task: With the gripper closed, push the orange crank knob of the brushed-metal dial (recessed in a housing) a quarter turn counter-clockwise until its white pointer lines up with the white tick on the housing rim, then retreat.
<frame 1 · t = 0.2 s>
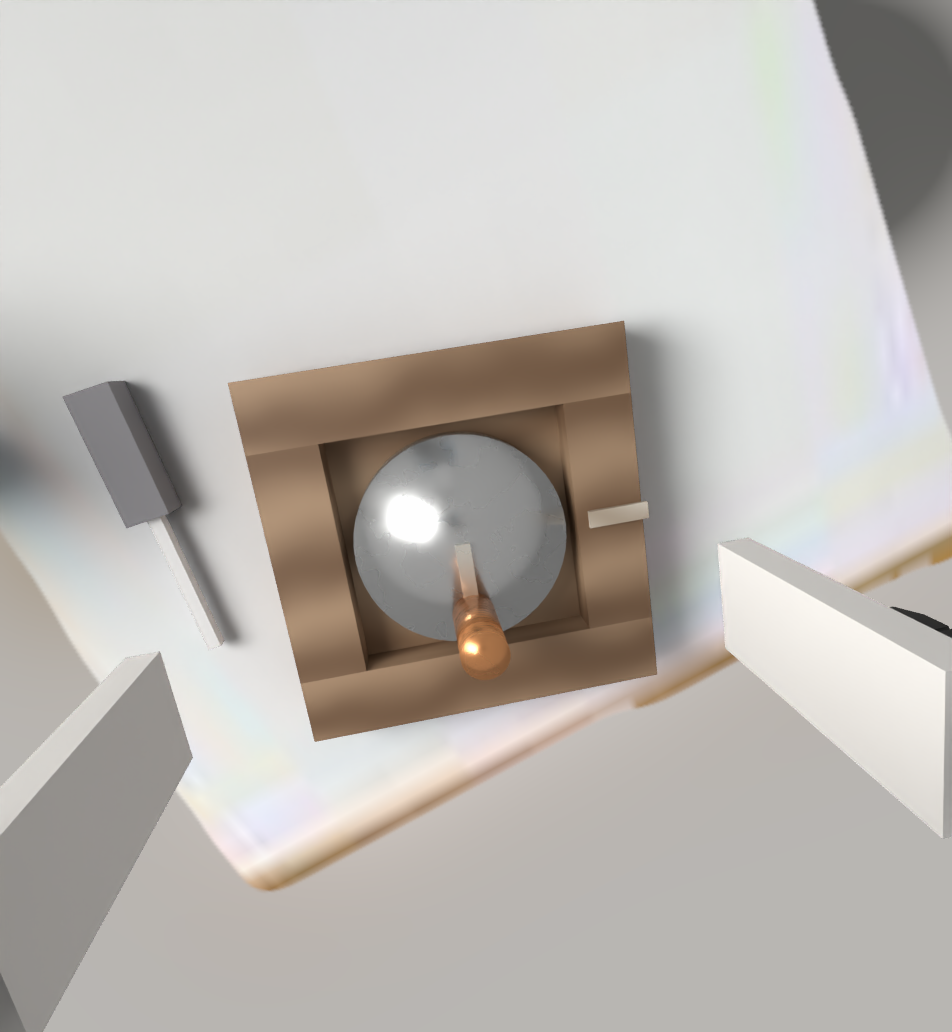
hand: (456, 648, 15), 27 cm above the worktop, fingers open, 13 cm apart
dial: (464, 551, 36), point 6 cm above the worktop, hinge at 0.0°
screwdriver: (156, 497, 40), on the worktop
housing: (456, 524, 42), on the worktop
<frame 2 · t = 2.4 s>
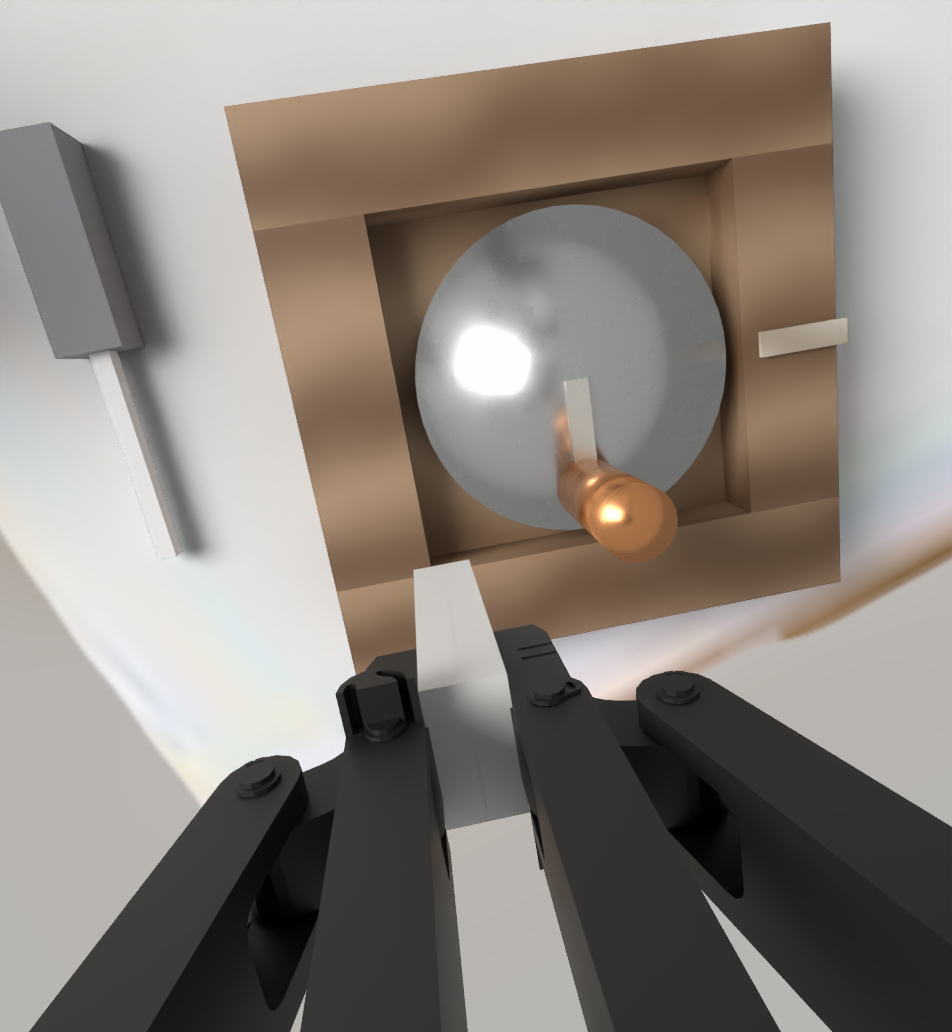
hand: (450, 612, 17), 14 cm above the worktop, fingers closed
dial: (588, 378, 23), point 6 cm above the worktop, hinge at 0.0°
screwdriver: (108, 329, 27), on the worktop
housing: (550, 374, 30), on the worktop
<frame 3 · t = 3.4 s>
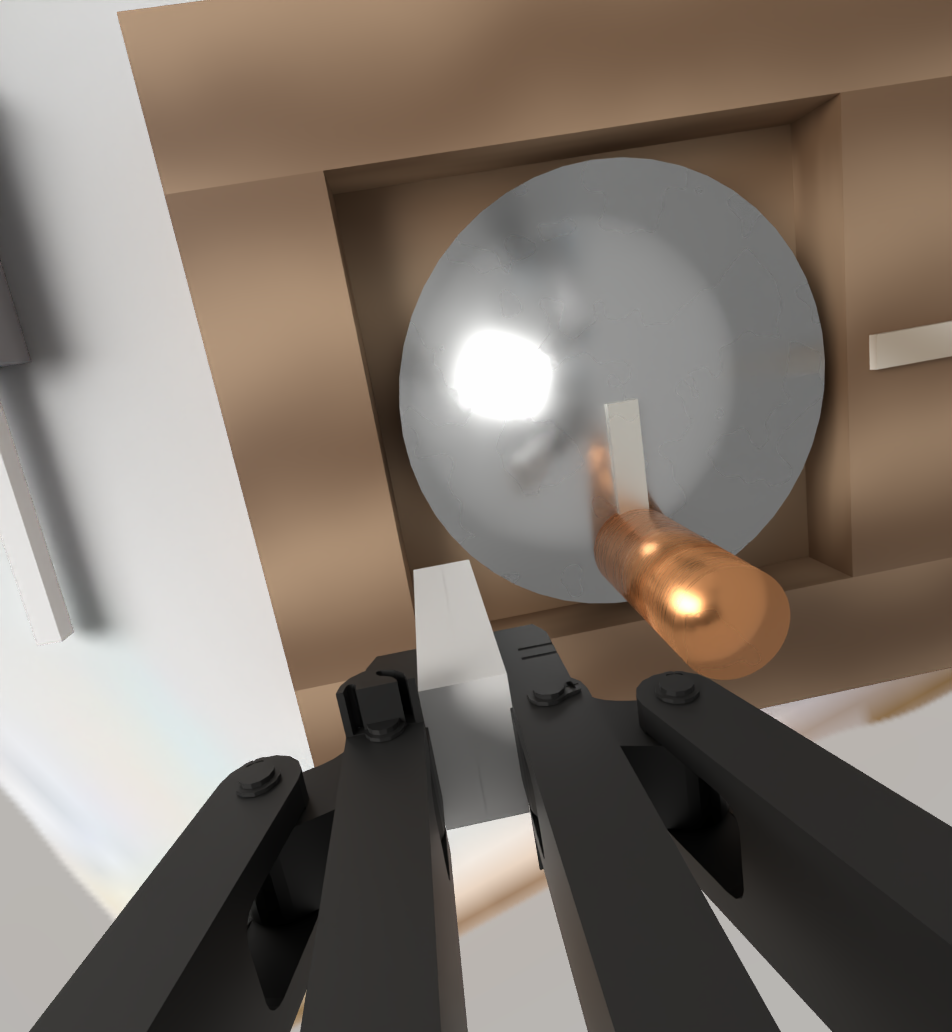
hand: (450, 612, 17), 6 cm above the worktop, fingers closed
dial: (643, 401, 16), point 6 cm above the worktop, hinge at 0.0°
housing: (579, 392, 23), on the worktop
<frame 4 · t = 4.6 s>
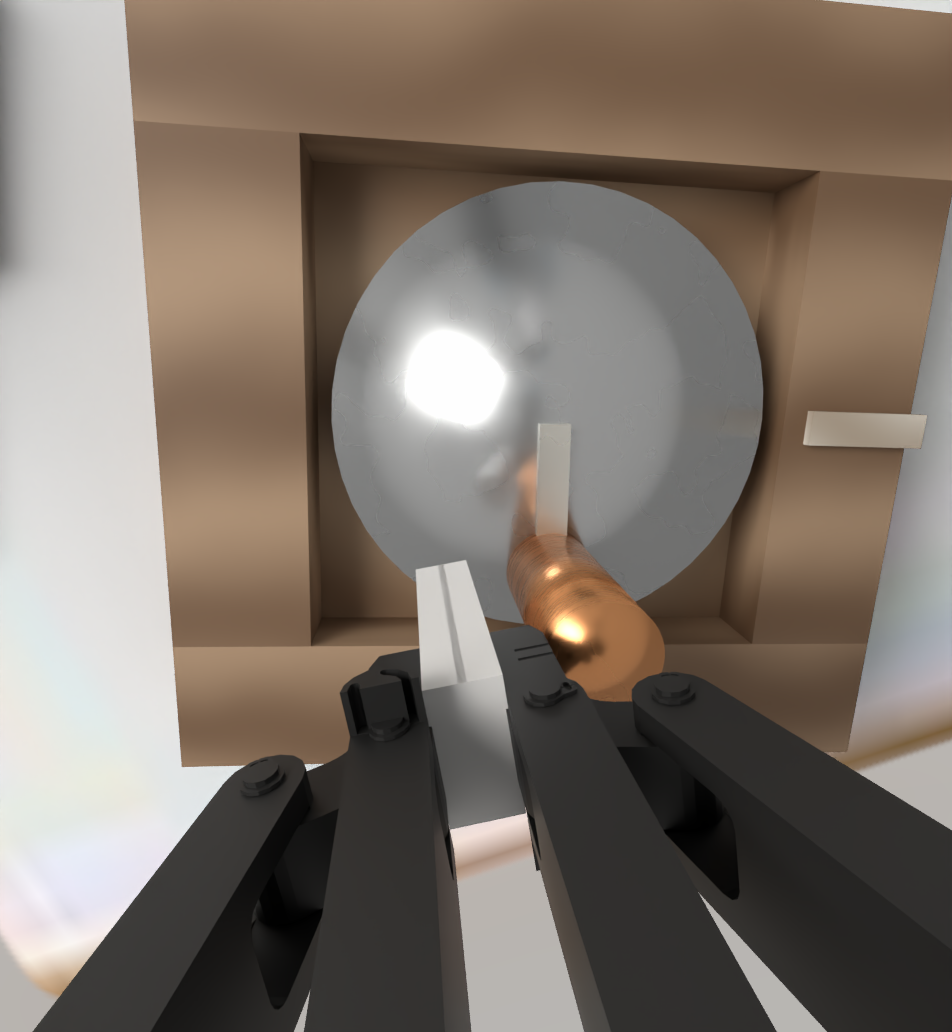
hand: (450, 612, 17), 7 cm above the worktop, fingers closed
dial: (569, 426, 16), point 6 cm above the worktop, hinge at 1.9°, touching gripper
housing: (527, 410, 23), on the worktop
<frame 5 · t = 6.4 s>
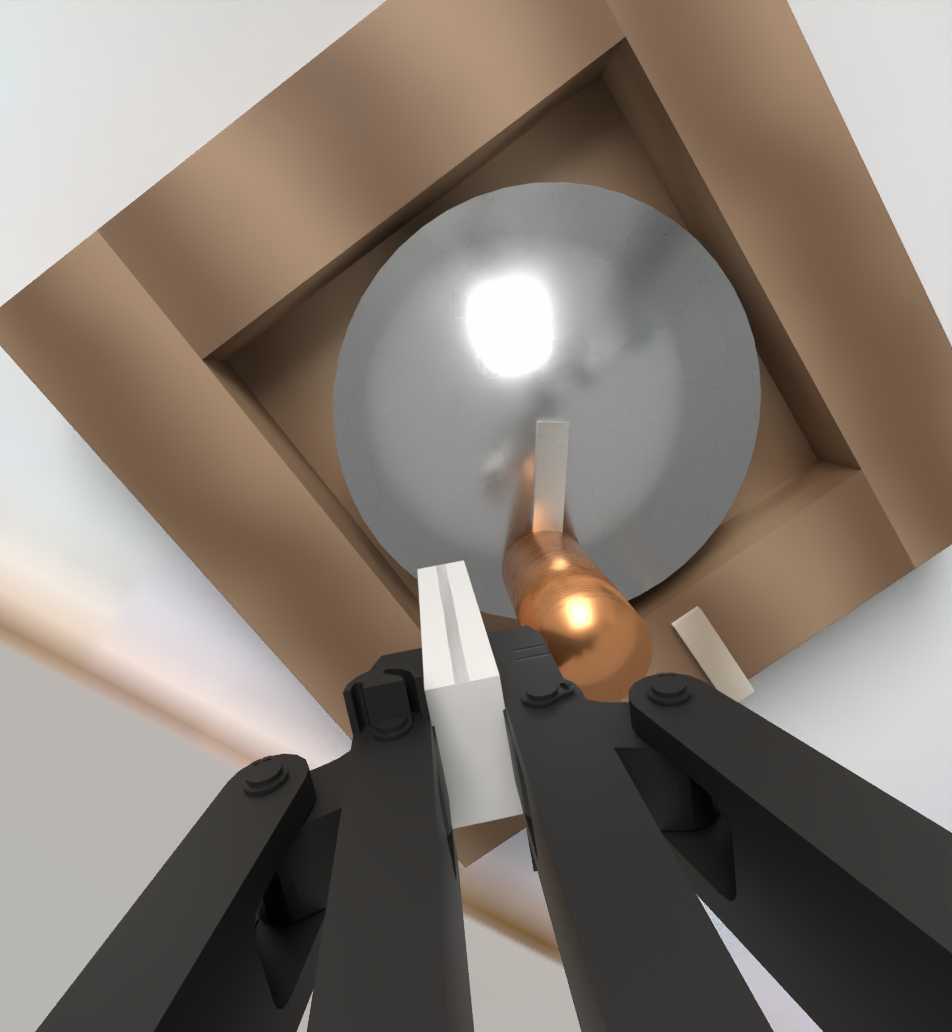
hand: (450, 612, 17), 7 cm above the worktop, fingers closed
dial: (567, 424, 17), point 6 cm above the worktop, hinge at 53.0°, touching gripper
housing: (528, 408, 23), on the worktop
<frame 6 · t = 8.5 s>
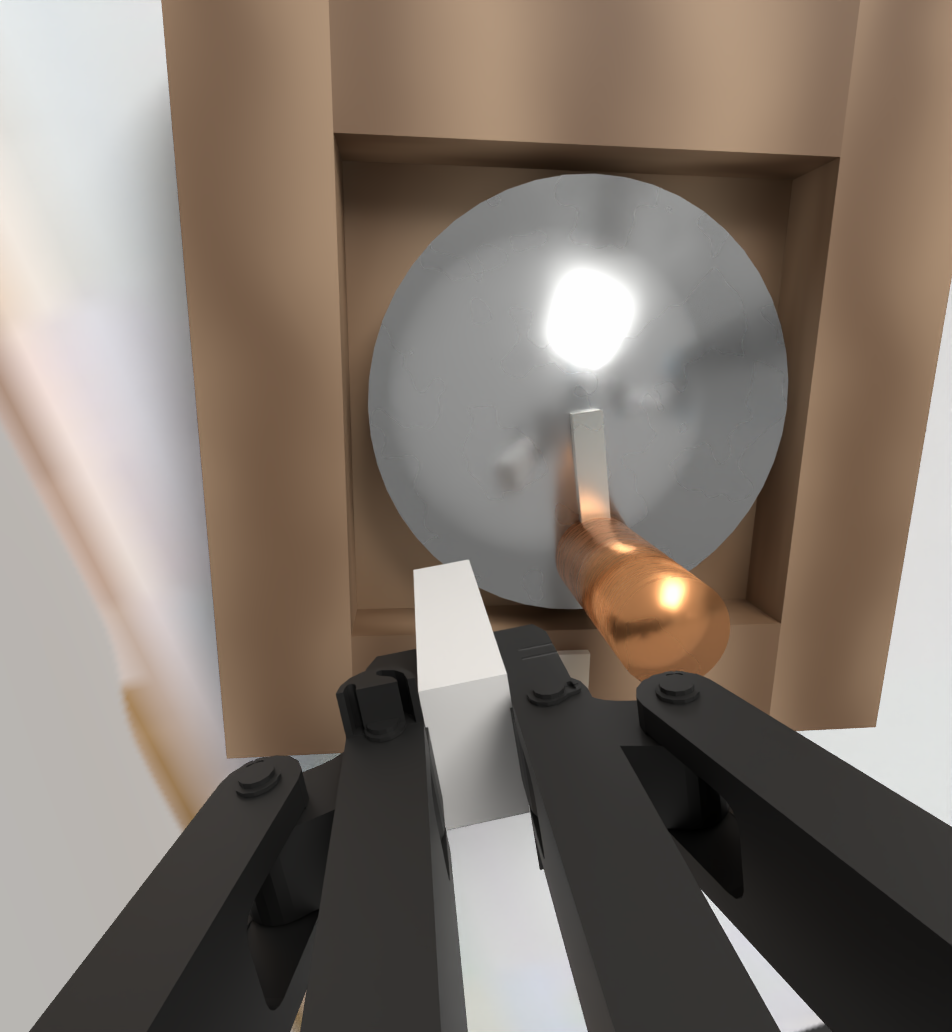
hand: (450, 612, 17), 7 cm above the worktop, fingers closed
dial: (604, 412, 17), point 6 cm above the worktop, hinge at 97.7°
housing: (552, 400, 23), on the worktop
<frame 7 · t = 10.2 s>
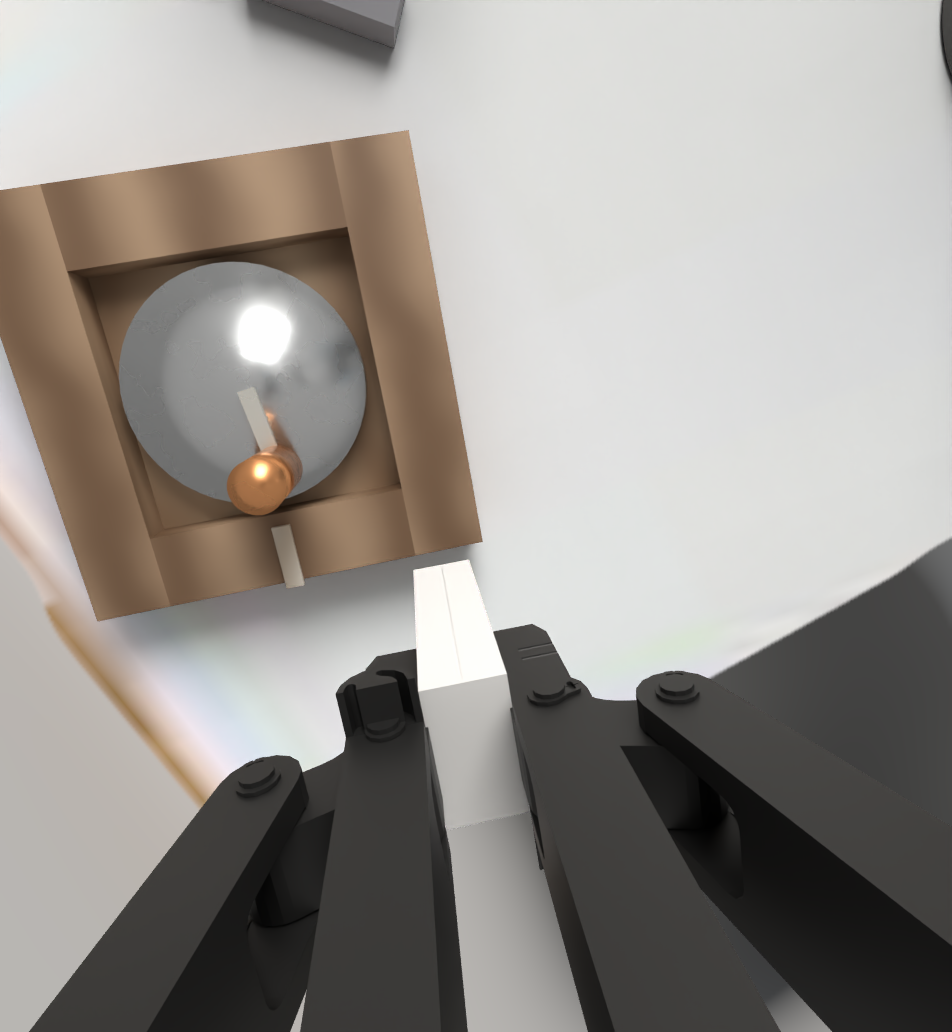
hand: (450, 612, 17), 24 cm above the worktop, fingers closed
dial: (236, 388, 32), point 6 cm above the worktop, hinge at 97.7°
housing: (261, 386, 38), on the worktop
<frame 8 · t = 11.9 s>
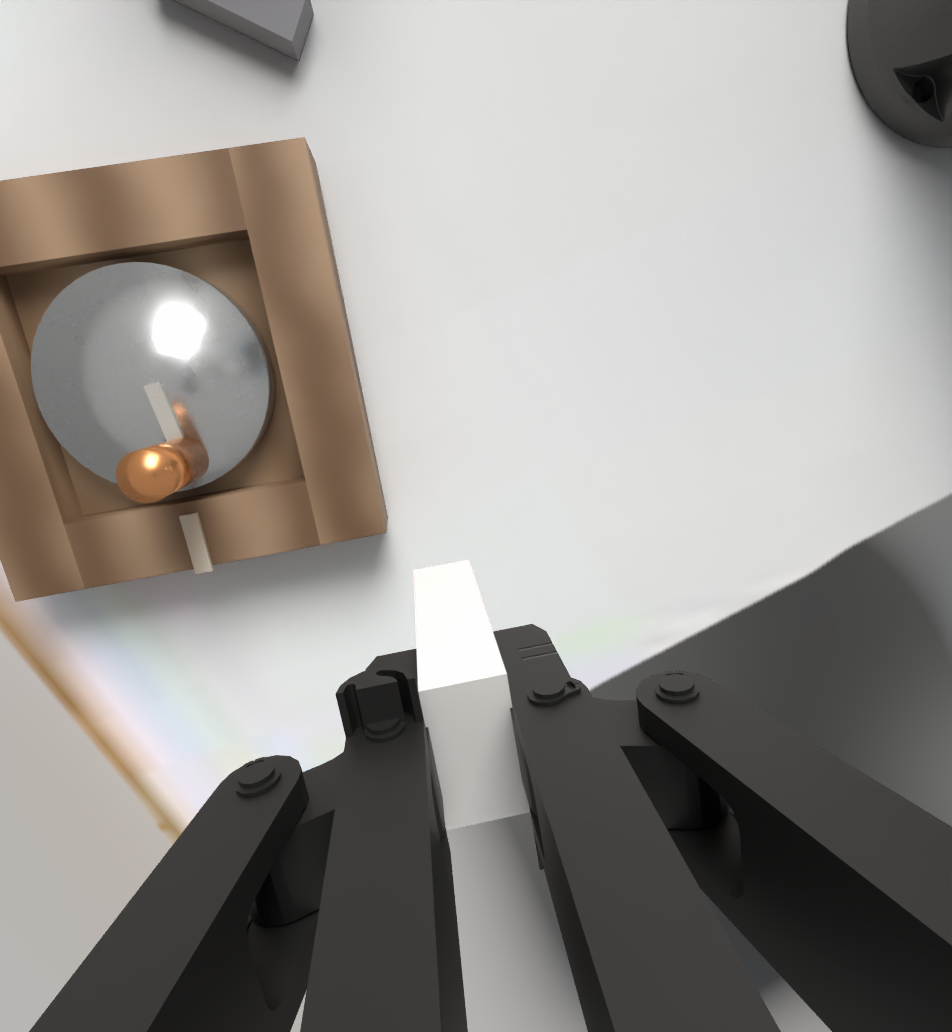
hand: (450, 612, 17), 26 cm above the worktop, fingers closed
dial: (137, 382, 34), point 6 cm above the worktop, hinge at 97.7°
housing: (178, 380, 40), on the worktop
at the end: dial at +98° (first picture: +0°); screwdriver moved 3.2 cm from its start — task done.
